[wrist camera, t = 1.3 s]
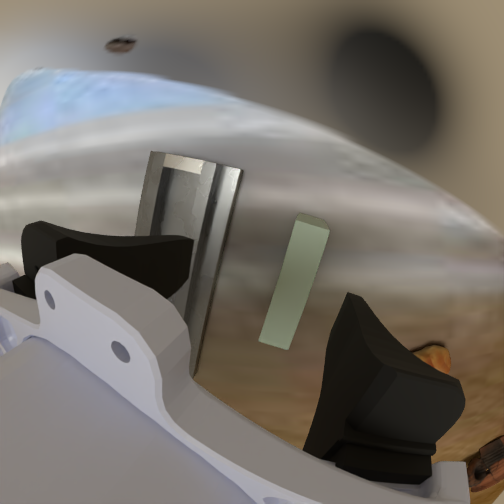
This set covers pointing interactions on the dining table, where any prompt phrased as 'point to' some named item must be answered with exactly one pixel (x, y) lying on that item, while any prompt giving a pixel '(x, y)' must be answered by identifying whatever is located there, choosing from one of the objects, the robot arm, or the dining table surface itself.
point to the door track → (190, 227)
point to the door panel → (295, 280)
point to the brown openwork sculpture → (487, 466)
